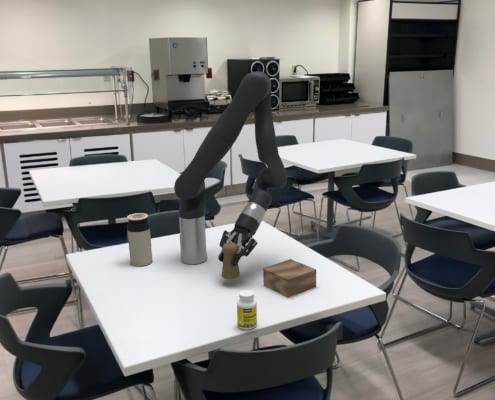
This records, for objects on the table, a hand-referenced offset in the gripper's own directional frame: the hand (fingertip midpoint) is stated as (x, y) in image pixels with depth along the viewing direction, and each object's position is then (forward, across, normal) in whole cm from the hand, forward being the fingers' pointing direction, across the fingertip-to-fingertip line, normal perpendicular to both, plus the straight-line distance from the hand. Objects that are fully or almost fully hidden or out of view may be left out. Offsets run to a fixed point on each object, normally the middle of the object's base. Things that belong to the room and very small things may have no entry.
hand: (226, 262), depth 165 cm
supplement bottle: (+16, +23, -5) cm, 28 cm away
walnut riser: (-3, +16, +14) cm, 22 cm away
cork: (+2, 0, +5) cm, 6 cm away
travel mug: (+10, -38, +2) cm, 40 cm away
